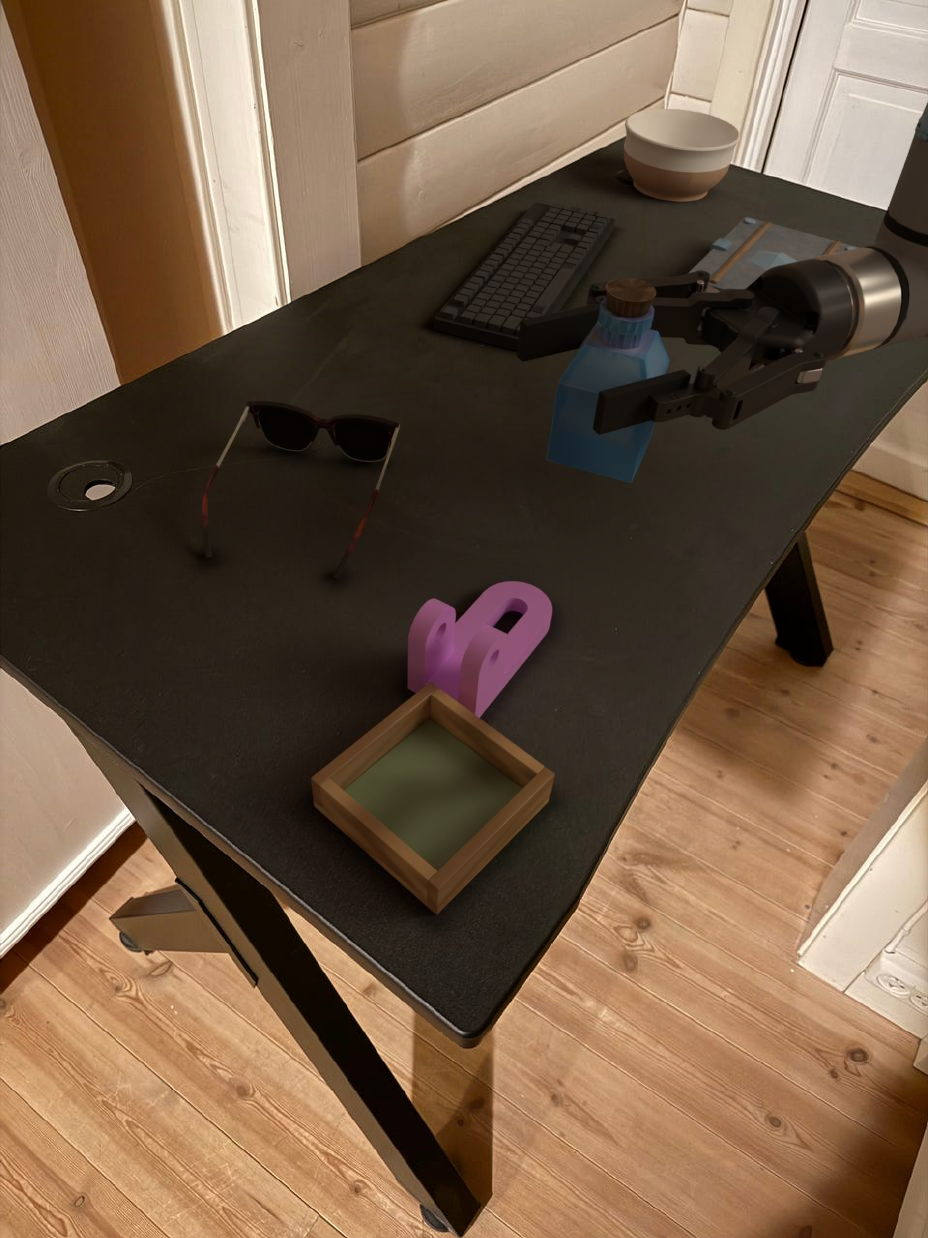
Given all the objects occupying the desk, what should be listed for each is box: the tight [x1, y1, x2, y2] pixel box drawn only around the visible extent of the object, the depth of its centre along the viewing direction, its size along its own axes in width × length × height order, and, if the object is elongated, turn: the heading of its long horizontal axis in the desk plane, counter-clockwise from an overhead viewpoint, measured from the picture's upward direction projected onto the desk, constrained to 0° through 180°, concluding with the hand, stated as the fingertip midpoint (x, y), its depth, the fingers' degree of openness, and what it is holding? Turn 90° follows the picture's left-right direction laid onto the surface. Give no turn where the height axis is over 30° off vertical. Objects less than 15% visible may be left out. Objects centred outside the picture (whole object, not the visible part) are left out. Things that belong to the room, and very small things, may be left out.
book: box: [688, 216, 860, 318], centre depth 107 cm, size 21×16×5 cm
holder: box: [310, 682, 556, 915], centre depth 56 cm, size 11×11×3 cm
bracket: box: [407, 580, 553, 719], centre depth 65 cm, size 13×6×7 cm, turn 148°
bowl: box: [623, 108, 741, 203], centre depth 128 cm, size 16×16×8 cm
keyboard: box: [434, 202, 616, 352], centre depth 109 cm, size 35×11×2 cm, turn 159°
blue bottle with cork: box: [546, 277, 671, 484], centre depth 61 cm, size 6×6×12 cm
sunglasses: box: [201, 400, 401, 580], centre depth 76 cm, size 14×16×5 cm
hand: (558, 375), depth 59 cm, fingers closed on blue bottle with cork, 9 cm apart
